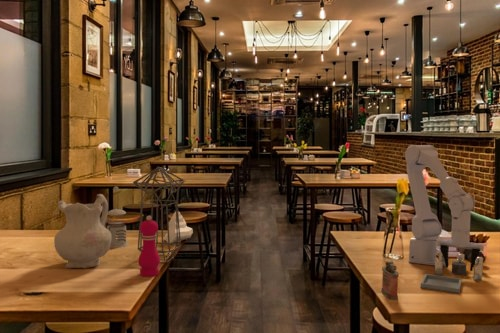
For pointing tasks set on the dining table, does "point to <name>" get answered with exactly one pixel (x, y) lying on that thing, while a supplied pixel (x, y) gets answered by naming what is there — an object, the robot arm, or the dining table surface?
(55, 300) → the dining table surface
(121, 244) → the french press
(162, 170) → the geometric lantern
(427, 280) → the tray
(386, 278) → the lighter
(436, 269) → the spacer field
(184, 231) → the soft serve ice cream
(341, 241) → the dining table surface
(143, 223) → the pepper mill
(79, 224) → the ceramic pitcher
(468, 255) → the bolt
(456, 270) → the nut
